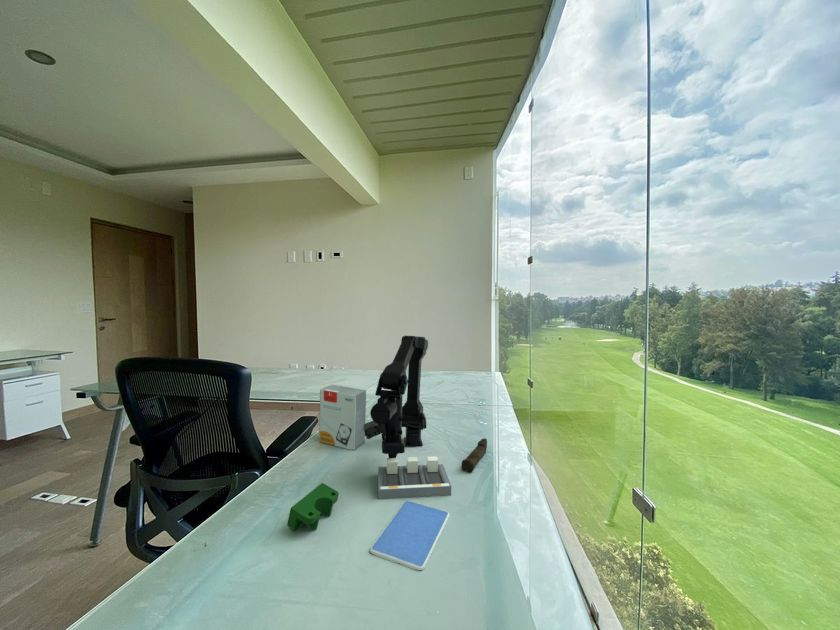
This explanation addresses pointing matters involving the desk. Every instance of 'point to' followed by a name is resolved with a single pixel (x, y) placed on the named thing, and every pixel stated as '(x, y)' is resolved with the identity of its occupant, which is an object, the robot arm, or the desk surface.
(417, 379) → the robot arm
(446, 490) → the switch panel
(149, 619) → the desk surface
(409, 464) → the tab
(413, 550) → the tablet computer
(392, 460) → the tab
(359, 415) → the hard drive box
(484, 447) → the brown wooden log
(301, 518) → the clamp
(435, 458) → the tab
